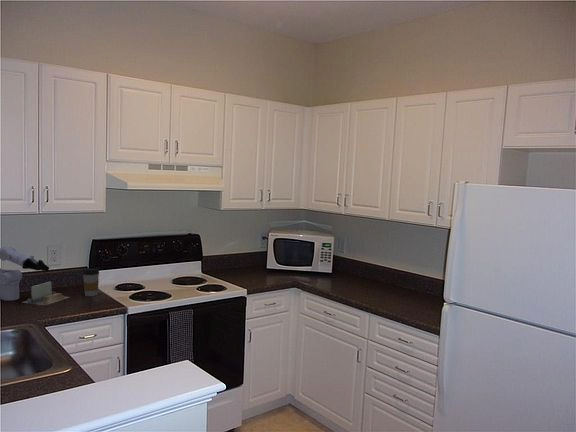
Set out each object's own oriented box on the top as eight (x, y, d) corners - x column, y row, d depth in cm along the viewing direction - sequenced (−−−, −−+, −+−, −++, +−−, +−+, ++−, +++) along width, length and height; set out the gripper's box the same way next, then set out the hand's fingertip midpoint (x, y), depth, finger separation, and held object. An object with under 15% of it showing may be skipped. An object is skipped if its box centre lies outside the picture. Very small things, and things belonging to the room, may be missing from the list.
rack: (21, 304, 240) (21, 298, 240) (47, 296, 256) (47, 290, 256) (45, 307, 236) (45, 301, 236) (70, 298, 252) (70, 293, 252)
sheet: (31, 301, 241) (31, 286, 241) (49, 296, 253) (49, 281, 252) (33, 302, 241) (33, 286, 240) (51, 296, 252) (51, 281, 252)
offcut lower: (43, 302, 240) (43, 299, 240) (58, 297, 250) (58, 295, 250) (49, 303, 239) (49, 300, 239) (64, 298, 249) (64, 295, 249)
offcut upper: (44, 299, 241) (44, 296, 240) (56, 295, 248) (56, 293, 248) (50, 300, 240) (50, 297, 239) (62, 296, 247) (62, 293, 247)
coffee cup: (98, 298, 255) (97, 270, 254) (81, 298, 253) (81, 271, 252) (100, 294, 263) (100, 267, 262) (85, 294, 261) (84, 268, 260)
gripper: (15, 250, 237) (37, 260, 234) (34, 254, 251) (55, 262, 248) (9, 264, 236) (31, 273, 233) (28, 266, 250) (49, 275, 247)
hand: (43, 268), depth 240 cm, fingers open, 7 cm apart
